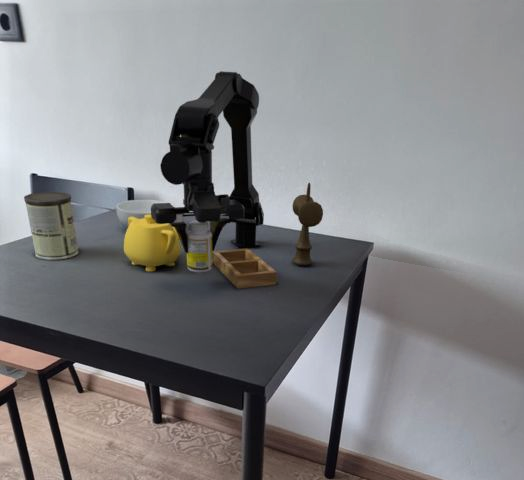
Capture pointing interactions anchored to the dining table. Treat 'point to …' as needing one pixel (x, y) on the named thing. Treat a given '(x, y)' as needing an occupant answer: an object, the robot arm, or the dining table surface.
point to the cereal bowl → (135, 209)
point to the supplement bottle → (199, 247)
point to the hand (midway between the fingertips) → (199, 251)
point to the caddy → (244, 268)
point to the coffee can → (52, 225)
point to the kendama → (306, 225)
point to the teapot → (151, 243)
